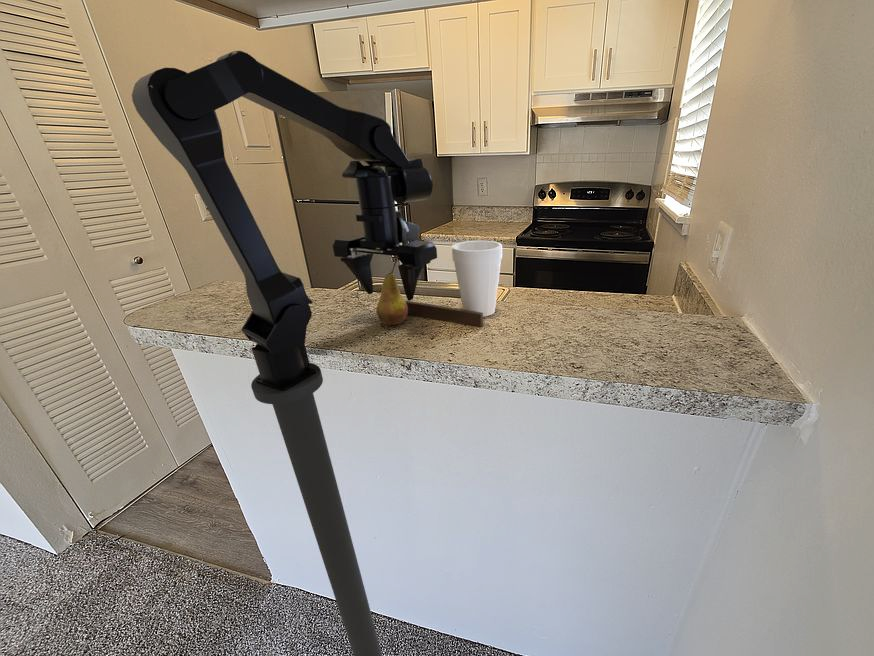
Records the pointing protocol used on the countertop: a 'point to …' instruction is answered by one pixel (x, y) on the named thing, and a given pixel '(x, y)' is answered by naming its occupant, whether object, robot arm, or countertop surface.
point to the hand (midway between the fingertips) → (390, 296)
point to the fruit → (391, 302)
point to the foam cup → (478, 274)
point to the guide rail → (445, 313)
